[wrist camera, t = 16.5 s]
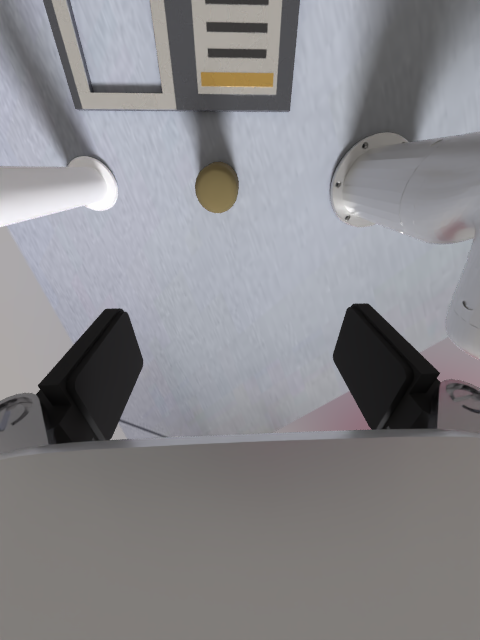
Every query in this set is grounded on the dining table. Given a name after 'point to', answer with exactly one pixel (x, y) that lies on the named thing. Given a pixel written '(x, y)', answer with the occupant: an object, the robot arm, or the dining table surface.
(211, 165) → the cork
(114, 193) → the candle
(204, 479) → the robot arm
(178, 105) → the panel
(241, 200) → the dining table surface
